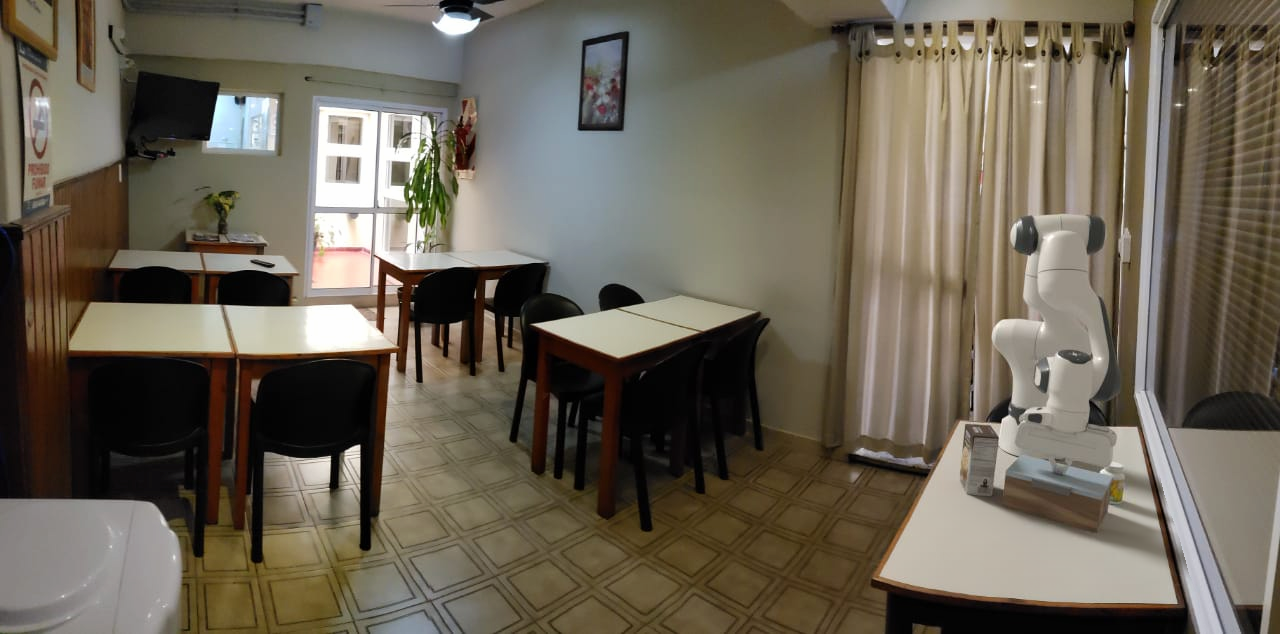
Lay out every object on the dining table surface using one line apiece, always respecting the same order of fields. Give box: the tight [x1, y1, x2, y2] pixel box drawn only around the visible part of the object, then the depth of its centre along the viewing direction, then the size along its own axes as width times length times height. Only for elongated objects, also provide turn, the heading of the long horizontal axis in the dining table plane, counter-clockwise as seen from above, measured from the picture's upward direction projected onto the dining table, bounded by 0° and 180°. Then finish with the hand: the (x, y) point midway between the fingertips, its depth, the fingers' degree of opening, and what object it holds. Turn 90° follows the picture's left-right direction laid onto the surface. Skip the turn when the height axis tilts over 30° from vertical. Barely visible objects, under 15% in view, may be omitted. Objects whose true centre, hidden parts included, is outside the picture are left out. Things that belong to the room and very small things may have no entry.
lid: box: [1004, 454, 1113, 500], centre depth 171 cm, size 15×20×2 cm
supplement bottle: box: [1099, 461, 1126, 505], centre depth 177 cm, size 5×5×10 cm
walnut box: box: [1001, 475, 1112, 534], centre depth 172 cm, size 14×20×8 cm
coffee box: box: [959, 423, 999, 497], centre depth 183 cm, size 9×6×16 cm
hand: (1058, 473), depth 171 cm, fingers closed, pressing on lid
